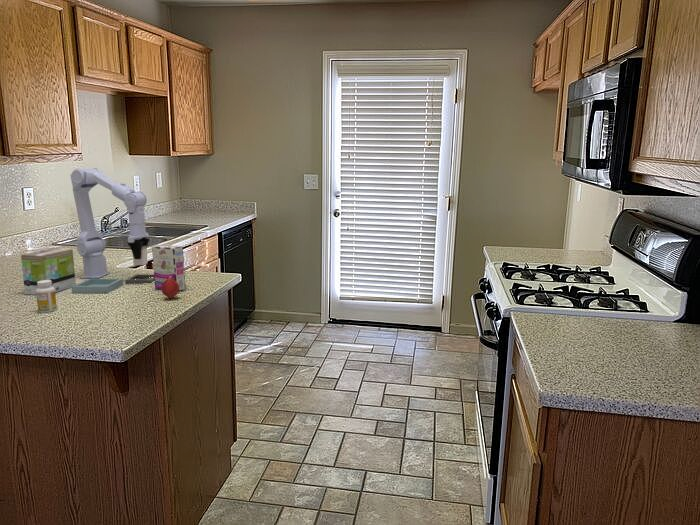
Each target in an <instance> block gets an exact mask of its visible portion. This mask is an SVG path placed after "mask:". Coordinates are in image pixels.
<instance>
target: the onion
mask: <svg viewBox="0 0 700 525" xmlns="http://www.w3.org/2000/svg"><path fill="white" fill-rule="evenodd" d="M161 292H162V294H163V295H164V296H165V297H167V298H168V299H171V300H173V299H174V298H175V297H176V296H177V295H178V294H179V293H180V291H179V285H178V283H177V282H176V281H175V280H173V279H172V276H170V277H169V278H168V279H167V280H166V281H165V282H164V283H163V285H162V290H161Z"/></svg>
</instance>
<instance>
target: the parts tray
mask: <svg viewBox="0 0 700 525" xmlns="http://www.w3.org/2000/svg"><path fill="white" fill-rule="evenodd" d="M122 286H124V280H123V278H87V279H86V280H84V281H81V282H79V283H76V285H74V286H72V287H71V288H70V289H71V294H109V293H111V292H113V291H114V290H116V289H119V288H120V287H122Z"/></svg>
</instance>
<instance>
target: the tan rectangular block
mask: <svg viewBox="0 0 700 525" xmlns="http://www.w3.org/2000/svg"><path fill="white" fill-rule="evenodd" d="M147 249H148V248H147ZM147 249H146V246H142V249H141V259H135V258H134V256H133V255H132V264H133V266H145V265H147V264H148V250H147Z"/></svg>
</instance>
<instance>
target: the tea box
mask: <svg viewBox="0 0 700 525" xmlns="http://www.w3.org/2000/svg"><path fill="white" fill-rule="evenodd" d="M20 256H21V257H20V258H21V267H22V268H21V269H22V280H23V289H24V294H25V295H33V296H34V295H35V296H36V289H37V288H39V287H38V286H37V282H38V281H42V280H51V282H52V285H51V287H54V289H55V293H57V292H60V291H64V290H68V289H72V288H71V287H72V286H74V285H76V284H77V283H76V273H75V272H76V270H75V261H74V252H73V249H71V248H46V249H42V250H37V251H32V252H28V253H23V254H20Z"/></svg>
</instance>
